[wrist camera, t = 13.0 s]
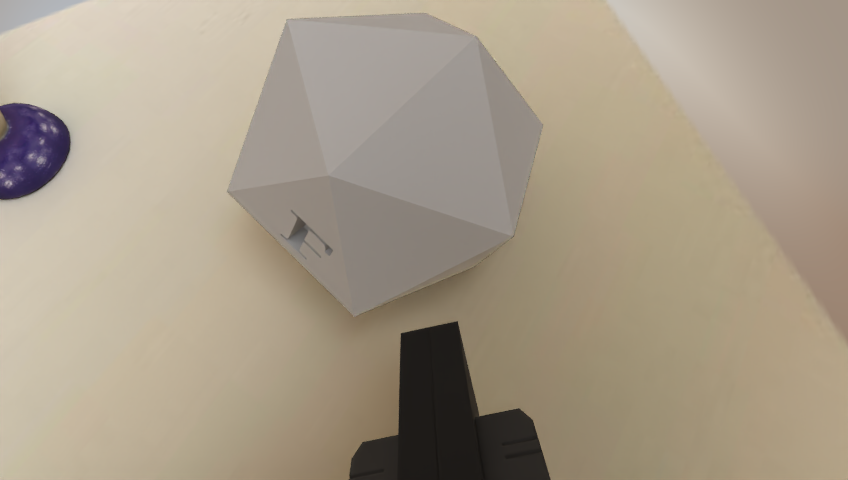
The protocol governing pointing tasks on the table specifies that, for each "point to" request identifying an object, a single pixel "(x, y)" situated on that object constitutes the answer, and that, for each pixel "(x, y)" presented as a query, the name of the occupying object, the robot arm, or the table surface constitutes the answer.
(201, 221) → the table surface
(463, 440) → the robot arm
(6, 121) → the toy lamp
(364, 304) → the die
